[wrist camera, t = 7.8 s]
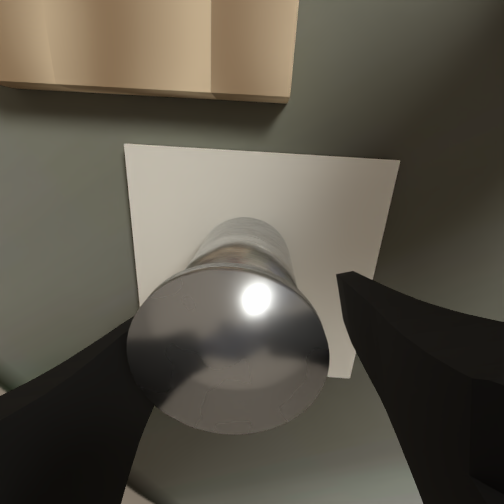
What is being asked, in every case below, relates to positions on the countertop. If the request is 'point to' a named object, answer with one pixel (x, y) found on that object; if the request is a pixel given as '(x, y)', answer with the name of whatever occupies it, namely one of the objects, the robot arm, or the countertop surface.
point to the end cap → (231, 336)
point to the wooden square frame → (151, 47)
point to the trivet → (263, 217)
